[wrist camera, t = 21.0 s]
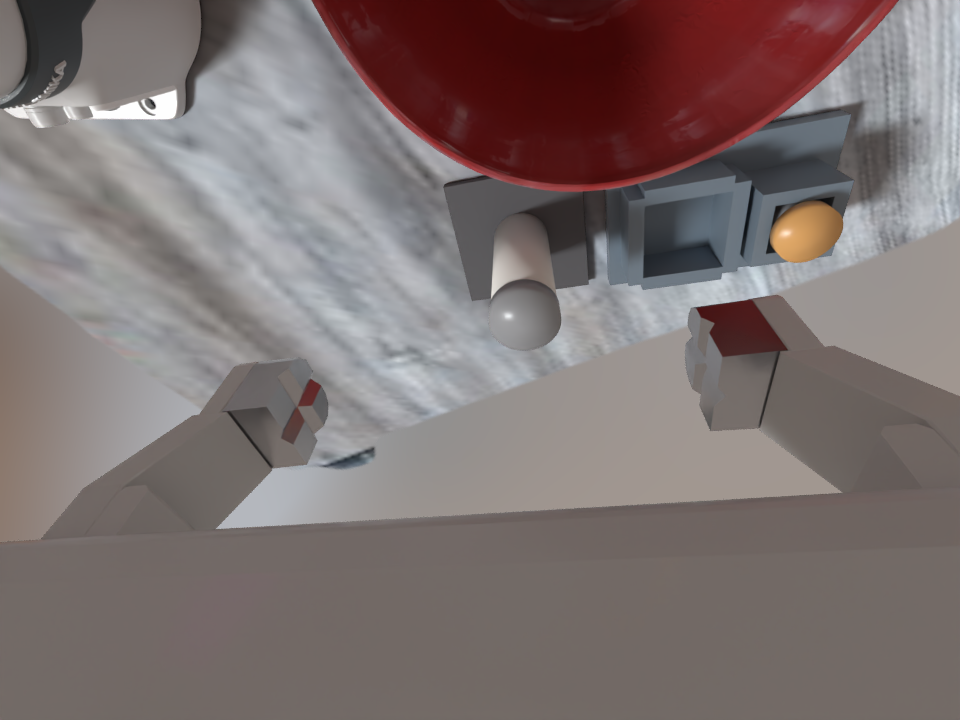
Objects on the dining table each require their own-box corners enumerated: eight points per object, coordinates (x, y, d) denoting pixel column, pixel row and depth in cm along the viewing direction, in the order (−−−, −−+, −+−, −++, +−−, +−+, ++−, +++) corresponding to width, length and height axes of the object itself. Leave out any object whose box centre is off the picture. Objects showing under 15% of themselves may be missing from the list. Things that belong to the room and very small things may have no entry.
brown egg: (741, 232, 41) (771, 266, 36) (749, 182, 38) (782, 212, 33) (796, 224, 40) (833, 257, 35) (808, 172, 37) (851, 201, 32)
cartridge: (498, 267, 46) (495, 354, 35) (488, 217, 42) (481, 297, 32) (551, 258, 45) (564, 345, 34) (544, 207, 41) (557, 285, 31)
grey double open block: (607, 277, 46) (618, 313, 41) (603, 154, 39) (616, 180, 34) (804, 249, 43) (841, 285, 38) (840, 109, 36) (892, 131, 31)
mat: (472, 296, 49) (471, 300, 48) (444, 184, 41) (443, 187, 41) (587, 280, 47) (588, 284, 46) (579, 158, 39) (581, 161, 39)
